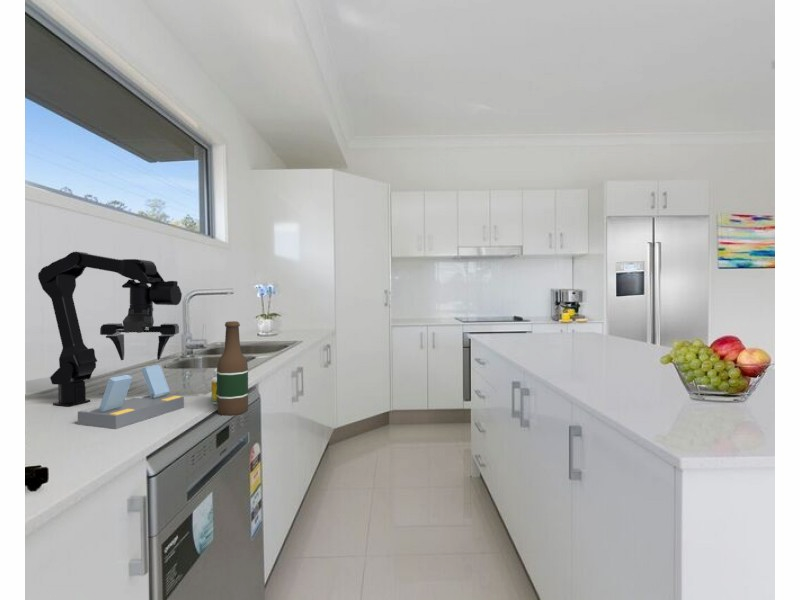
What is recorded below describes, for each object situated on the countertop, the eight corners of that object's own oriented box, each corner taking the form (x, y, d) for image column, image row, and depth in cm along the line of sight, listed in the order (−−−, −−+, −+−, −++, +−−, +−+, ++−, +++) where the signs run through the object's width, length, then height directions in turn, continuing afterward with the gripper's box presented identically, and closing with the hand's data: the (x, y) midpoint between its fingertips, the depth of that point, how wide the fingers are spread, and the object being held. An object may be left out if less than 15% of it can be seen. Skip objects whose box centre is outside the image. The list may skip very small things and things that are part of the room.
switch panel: (77, 424, 111) (77, 411, 111) (149, 404, 131) (149, 393, 131) (115, 428, 107) (115, 415, 107) (183, 407, 127) (183, 396, 127)
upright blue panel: (98, 410, 110) (109, 378, 108) (117, 405, 114) (128, 374, 113) (102, 413, 109) (114, 381, 108) (121, 408, 114) (132, 377, 113)
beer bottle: (230, 417, 117) (229, 323, 117) (210, 413, 121) (210, 321, 121) (254, 411, 124) (254, 321, 123) (235, 407, 128) (234, 320, 127)
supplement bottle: (229, 399, 137) (229, 367, 137) (233, 403, 132) (233, 369, 132) (209, 402, 134) (209, 369, 134) (213, 405, 129) (213, 371, 129)
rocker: (151, 399, 124) (141, 369, 125) (166, 395, 129) (156, 366, 130) (156, 397, 123) (145, 367, 124) (170, 393, 128) (160, 364, 129)
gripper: (92, 304, 120) (91, 364, 120) (171, 305, 125) (170, 363, 125) (107, 303, 131) (107, 358, 131) (179, 304, 136) (178, 357, 136)
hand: (140, 359), depth 131 cm, fingers open, 9 cm apart
